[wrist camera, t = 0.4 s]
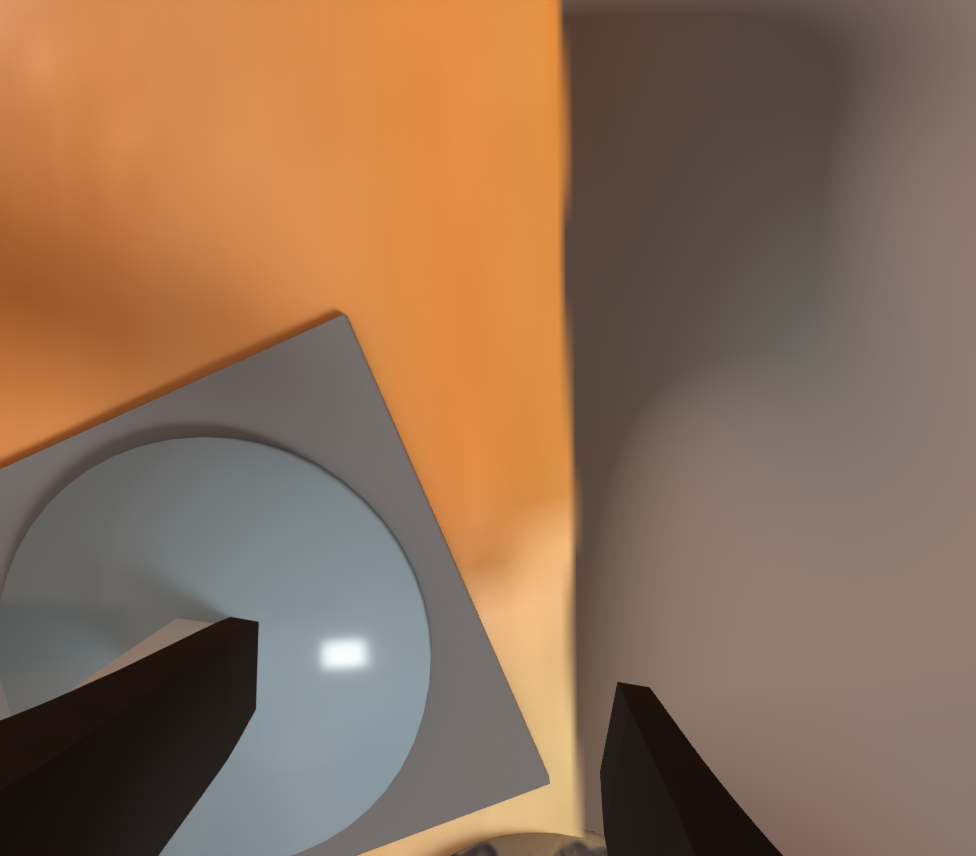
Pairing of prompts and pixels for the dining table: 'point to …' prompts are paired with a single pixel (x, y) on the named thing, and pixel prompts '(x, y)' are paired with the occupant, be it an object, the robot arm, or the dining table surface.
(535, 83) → the dining table surface
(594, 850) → the decorative bowl
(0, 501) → the mat
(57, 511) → the lid
